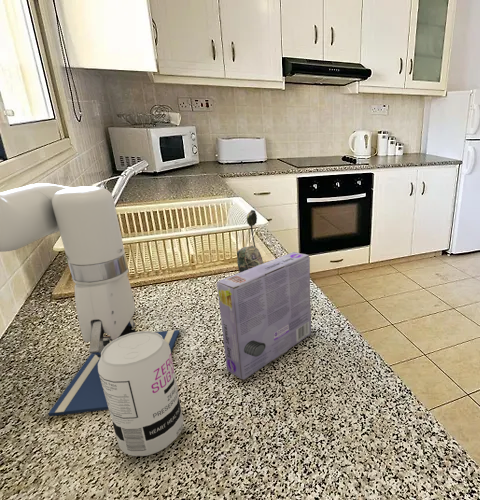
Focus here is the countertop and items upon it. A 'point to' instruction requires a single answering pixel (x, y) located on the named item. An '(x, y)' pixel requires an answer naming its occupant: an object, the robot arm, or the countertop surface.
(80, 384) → the towel
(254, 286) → the cake pan box
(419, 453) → the countertop surface
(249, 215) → the plant with pod
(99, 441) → the countertop surface
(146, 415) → the supplement can
